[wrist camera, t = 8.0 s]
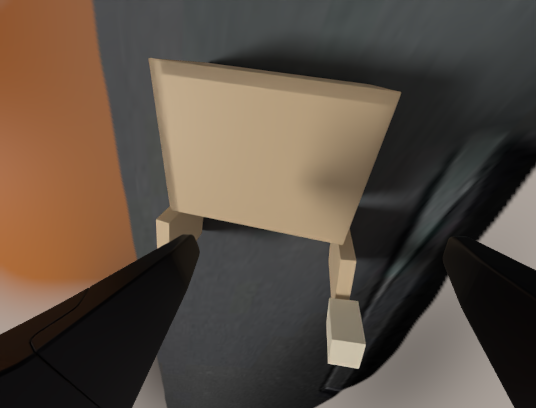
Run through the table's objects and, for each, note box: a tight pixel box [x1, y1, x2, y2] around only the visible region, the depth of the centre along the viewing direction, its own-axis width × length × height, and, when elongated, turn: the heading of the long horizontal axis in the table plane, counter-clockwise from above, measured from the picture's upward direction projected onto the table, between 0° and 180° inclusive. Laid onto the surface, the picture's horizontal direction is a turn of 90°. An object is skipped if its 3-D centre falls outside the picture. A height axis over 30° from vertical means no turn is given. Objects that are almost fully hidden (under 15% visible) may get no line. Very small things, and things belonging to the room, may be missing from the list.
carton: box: [149, 58, 402, 245], centre depth 16 cm, size 9×12×7 cm
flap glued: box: [156, 207, 203, 249], centre depth 19 cm, size 2×6×10 cm, turn 165°
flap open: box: [326, 229, 366, 369], centre depth 18 cm, size 2×6×10 cm, turn 3°
